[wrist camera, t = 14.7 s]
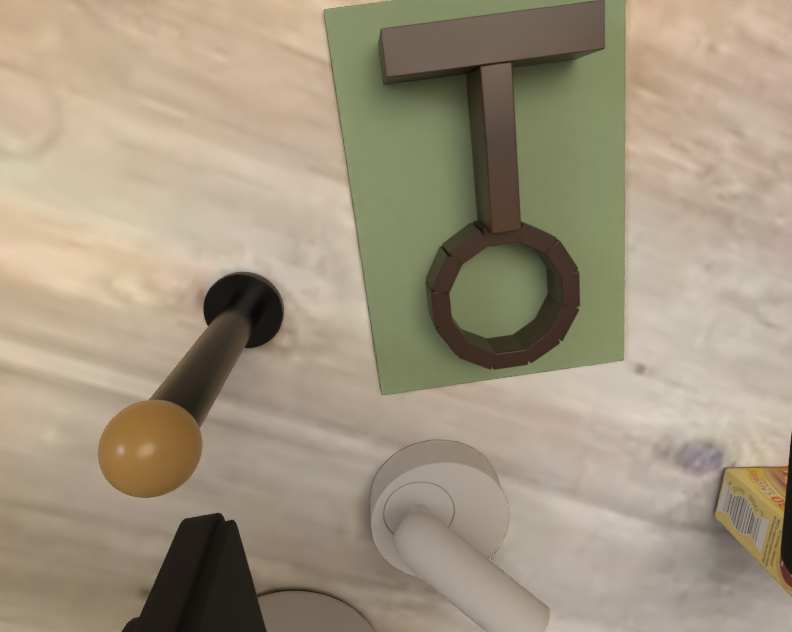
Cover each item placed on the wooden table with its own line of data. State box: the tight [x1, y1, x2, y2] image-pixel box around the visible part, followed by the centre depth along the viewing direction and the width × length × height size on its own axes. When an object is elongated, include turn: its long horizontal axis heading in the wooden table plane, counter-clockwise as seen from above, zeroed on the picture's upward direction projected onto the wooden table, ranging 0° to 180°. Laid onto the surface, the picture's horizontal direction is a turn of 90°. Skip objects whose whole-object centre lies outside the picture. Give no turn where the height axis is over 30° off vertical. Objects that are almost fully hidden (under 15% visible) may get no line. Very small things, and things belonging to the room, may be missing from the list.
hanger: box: [378, 0, 605, 370], centre depth 28 cm, size 18×10×4 cm, turn 7°
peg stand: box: [98, 272, 284, 498], centre depth 24 cm, size 4×4×16 cm
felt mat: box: [324, 0, 626, 395], centre depth 30 cm, size 15×21×1 cm
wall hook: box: [370, 440, 550, 632], centre depth 32 cm, size 9×10×10 cm
